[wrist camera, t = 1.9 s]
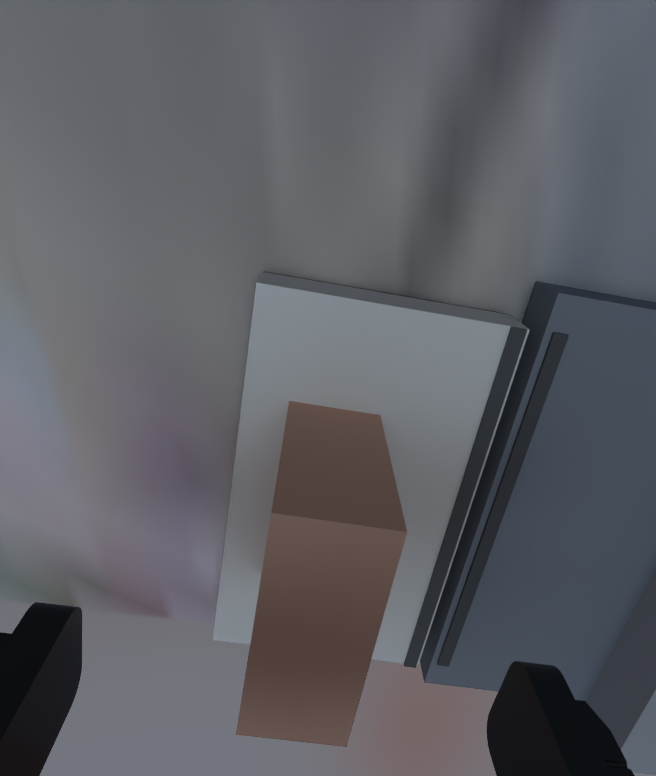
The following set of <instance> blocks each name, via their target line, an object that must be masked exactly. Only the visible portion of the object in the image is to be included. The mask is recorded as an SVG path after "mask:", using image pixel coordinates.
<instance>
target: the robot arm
mask: <svg viewBox="0 0 656 776" xmlns="http://www.w3.org/2000/svg"><path fill="white" fill-rule="evenodd" d="M81 669H82V611H81V608H80V607H73V606H64V605H56V604H47V603H39V602H36V603H34V604H33V605H32V606H31V607H30V608H29V609H28V610H27V612H26V613H25V615H24V616H23V618H22V619H21V621H20V623H19V624H18V625H17V627H16V628H15V630H14V631H13V633H12V634H7V633H0V776H39V775H40V773H41V771H42V769H43V766H44V764H45V762H46V760H47V758H48V756H49V753H50V751H51V749H52V747H53V745H54V743H55V740H56V738H57V736H58V734H59V732H60V730H61V727H62V725H63V723H64V721H65V718H66V717H67V714H68V712H69V710H70V708H71V705H72V703H73V700H74V698H75V695H76V692H77V688H78V685H79V681H80V676H81ZM487 740H488V746H489V751H490V755H491V758H492V761H493V765H494V768H495V771H496V775H497V776H634V774H633V772H632V770H631V769H628V767H627V761H626V759H625V757H624V755H623V753H622V751H621V749H620V748H619V746H618V744H617V742H616V740H615V738H614V736H613V734H612V732H611V730H610V729H609V728H608V727H607V726H606V724H605V723H604V722H603V721H602V720H601V719H600V718H599V716H598V715H597V714H596V713H595V712H594V711H593V709H592V708H591V707H590V706H589V705H588V704H587V703H586V701H582V700H575V698H574V696H573V694H572V692H571V690H570V688H569V686H568V684H567V682H566V680H565V678H564V676H563V674H562V673H561V671H560V670H559V669H558V668H557V667H555V666H553V665H545V664H537V663H529V662H520V661H514V662H513V663H512V664H511V665H510V667H509V669H508V671H507V673H506V676H505V678H504V680H503V682H502V685H501V687H500V689H499V692H498V694H497V696H496V699H495V701H494V703H493V705H492V708H491V710H490V712H489V716H488V721H487Z"/></svg>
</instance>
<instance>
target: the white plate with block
mask: <svg viewBox="0 0 656 776" xmlns="http://www.w3.org/2000/svg"><path fill="white" fill-rule="evenodd" d="M529 330H530V329H528V328H527V327H526V326H524V325H523V324H522V323H520V322H519V321H518V320H516V319H515V318H514V317H512V316H511V315H508V314H502V313H496V312H491V311H485V310H479V309H473V308H468V307H462V306H456V305H450V304H445V303H439V302H433V301H427V300H422V299H416V298H410V297H405V296H399V295H393V294H387V293H382V292H376V291H370V290H364V289H359V288H353V287H347V286H341V285H336V284H330V283H324V282H318V281H313V280H307V279H301V278H295V277H290V276H284V275H278V274H272V273H267V272H263V273H262V274H261V276H260V278H259V279H258V281H257V282H256V290H255V298H254V306H253V314H252V322H251V331H250V339H249V347H248V355H247V363H246V372H245V380H244V388H243V396H242V404H241V412H240V421H239V429H238V437H237V445H236V453H235V461H234V470H233V478H232V486H231V494H230V502H229V510H228V519H227V527H226V535H225V543H224V551H223V559H222V568H221V576H220V584H219V592H218V600H217V608H216V617H215V625H214V633H213V640H216V641H224V642H232V643H240V644H249V645H250V650H249V656H248V662H247V669H246V675H245V681H244V688H243V694H242V700H241V707H240V713H239V719H238V725H237V732H236V735H245V736H253V737H262V738H272V739H280V740H289V741H298V742H308V743H317V744H326V745H334V746H343V747H346V746H347V743H348V739H349V736H350V732H351V729H352V725H353V722H354V718H355V715H356V711H357V708H358V704H359V701H360V697H361V693H362V690H363V686H364V683H365V679H366V676H367V672H368V669H369V665H370V661H371V660H378V661H388V662H395V663H403V664H404V666H407V667H416V665H418V664H419V661H420V658H421V655H422V652H423V649H424V646H425V643H426V640H427V637H428V634H429V631H430V628H431V625H432V622H433V619H434V616H435V613H436V610H437V607H438V604H439V601H440V598H441V595H442V592H443V589H444V586H445V583H446V580H447V577H448V574H449V571H450V568H451V565H452V562H453V559H454V556H455V553H456V550H457V547H458V544H459V541H460V538H461V535H462V532H463V529H464V526H465V523H466V520H467V517H468V514H469V511H470V508H471V505H472V502H473V499H474V496H475V493H476V490H477V487H478V484H479V481H480V478H481V475H482V472H483V469H484V466H485V463H486V460H487V457H488V454H489V451H490V448H491V445H492V442H493V439H494V436H495V433H496V430H497V427H498V424H499V421H500V418H501V415H502V412H503V409H504V406H505V403H506V400H507V397H508V394H509V391H510V388H511V385H512V382H513V379H514V376H515V373H516V370H517V367H518V364H519V361H520V358H521V355H522V351H523V348H524V345H525V342H526V339H527V336H528V333H529Z"/></svg>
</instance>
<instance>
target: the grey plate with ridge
mask: <svg viewBox="0 0 656 776" xmlns="http://www.w3.org/2000/svg"><path fill="white" fill-rule="evenodd" d="M522 324H523V325H524V326H526V327H527V328H528V329H530V330H529V333H528V336H527V339H526V342H525V345H524V348H523V351H522V355H521V358H520V361H519V364H518V367H517V370H516V373H515V376H514V379H513V382H512V385H511V388H510V391H509V394H508V397H507V400H506V403H505V406H504V409H503V412H502V415H501V418H500V421H499V424H498V427H497V430H496V433H495V436H494V439H493V442H492V445H491V448H490V451H489V454H488V457H487V460H486V463H485V466H484V469H483V472H482V475H481V478H480V481H479V484H478V487H477V490H476V493H475V496H474V499H473V502H472V505H471V508H470V511H469V514H468V517H467V520H466V523H465V526H464V529H463V532H462V535H461V538H460V541H459V544H458V547H457V550H456V553H455V556H454V559H453V562H452V565H451V568H450V571H449V574H448V577H447V580H446V583H445V586H444V589H443V592H442V595H441V598H440V601H439V604H438V607H437V610H436V613H435V616H434V619H433V622H432V625H431V628H430V631H429V634H428V637H427V640H426V643H425V646H424V649H423V652H422V655H421V658H420V663H421V668H422V673H423V678H424V682H425V683H434V684H442V685H450V686H459V687H467V688H475V689H483V690H492V691H499V689H500V687H501V685H502V682H503V680H504V678H505V676H506V673H507V671H508V669H509V667H510V665H511V664H512V663H513V662H514V661H520V662H529V663H537V664H545V665H553V666H555V667H557V668H558V669H559V670H560V671H561V673H562V674H563V676H564V678H565V680H566V682H567V684H568V686H569V688H570V690H571V692H572V694H573V696H574V698H575V700H582V701H586V703H587V704H588V705H589V706H590V707H591V708H592V709H593V711H594V712H595V713H596V714H597V715H598V716H599V718H600V719H601V720H602V721H603V722H604V723H605V724H606V726H607V727H608V728H609V729H610V730H611V732H612V734H613V736H614V738H615V740H616V742H617V744H618V746H619V748H620V749H621V751H622V753H623V755H624V757H625V759H626V761H627V767H628V769H631V770H632V772H636V773H645V774H654V775H656V303H653V302H647V301H642V300H636V299H631V298H625V297H620V296H614V295H608V294H603V293H597V292H592V291H586V290H581V289H575V288H569V287H564V286H558V285H553V284H547V283H542V282H536V283H535V286H534V289H533V293H532V296H531V299H530V302H529V305H528V308H527V311H526V314H525V317H524V320H523V323H522Z"/></svg>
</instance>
